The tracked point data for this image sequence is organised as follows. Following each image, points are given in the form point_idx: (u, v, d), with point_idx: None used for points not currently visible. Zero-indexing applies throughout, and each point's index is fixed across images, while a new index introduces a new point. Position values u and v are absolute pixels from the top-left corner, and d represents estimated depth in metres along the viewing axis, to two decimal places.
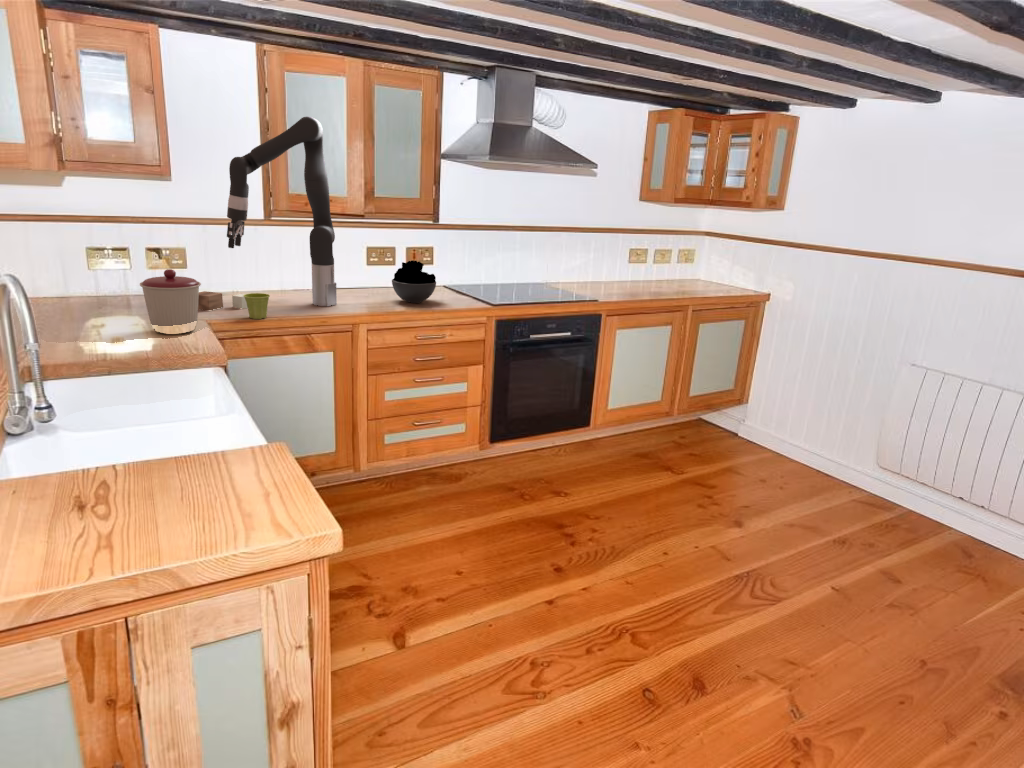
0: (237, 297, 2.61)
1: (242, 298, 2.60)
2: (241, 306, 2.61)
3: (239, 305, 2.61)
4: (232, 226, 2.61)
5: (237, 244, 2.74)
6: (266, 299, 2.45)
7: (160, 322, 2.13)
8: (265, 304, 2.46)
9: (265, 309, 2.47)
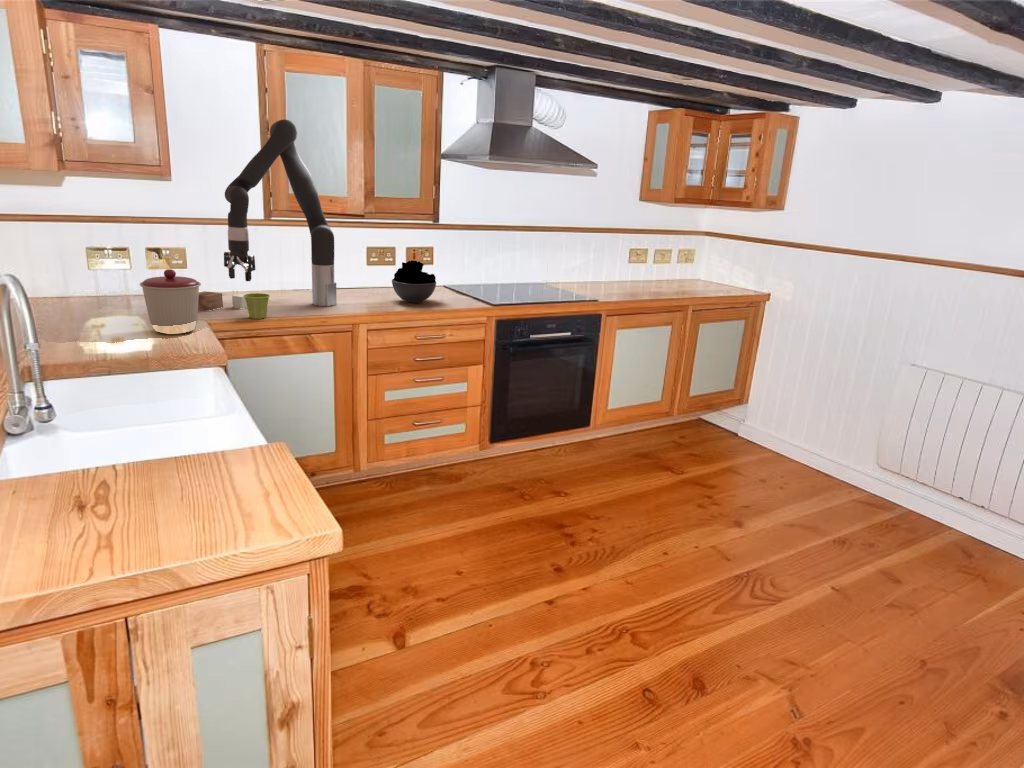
0: (237, 297, 2.61)
1: (242, 298, 2.60)
2: (241, 306, 2.61)
3: (239, 305, 2.61)
4: (253, 258, 2.56)
5: (232, 276, 2.62)
6: (266, 299, 2.45)
7: (160, 322, 2.13)
8: (265, 304, 2.46)
9: (265, 309, 2.47)
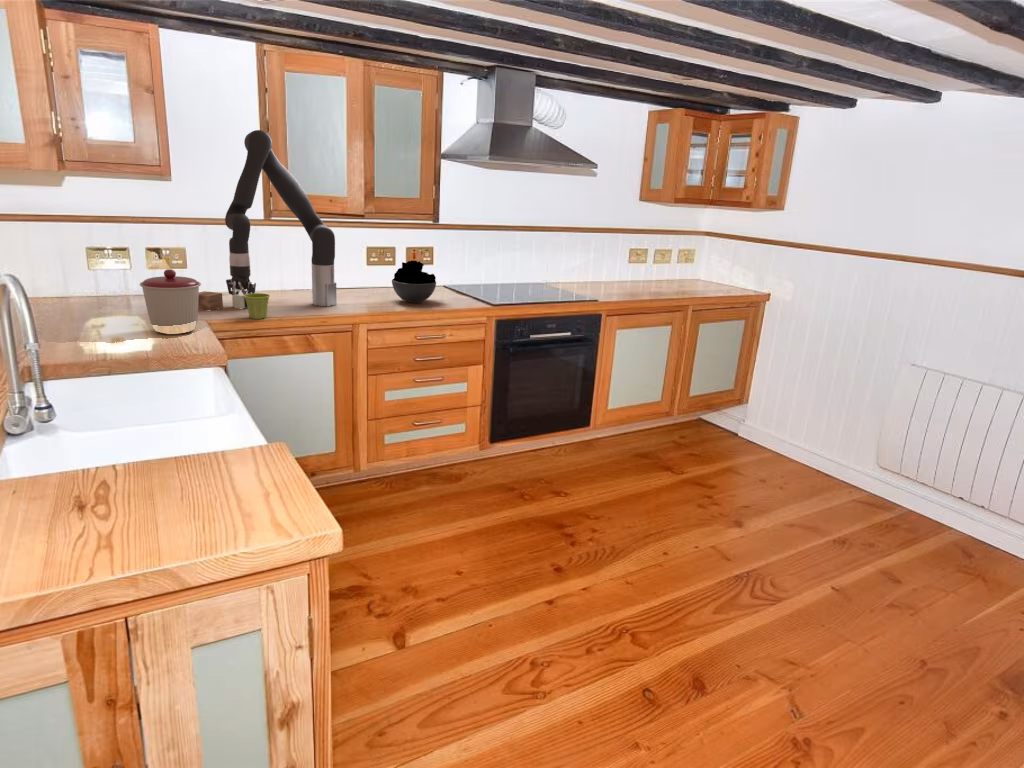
0: (237, 297, 2.60)
1: (242, 298, 2.60)
2: (241, 306, 2.61)
3: (239, 304, 2.61)
4: (254, 286, 2.60)
5: None
6: (266, 299, 2.45)
7: (160, 322, 2.13)
8: (265, 304, 2.46)
9: (265, 309, 2.47)
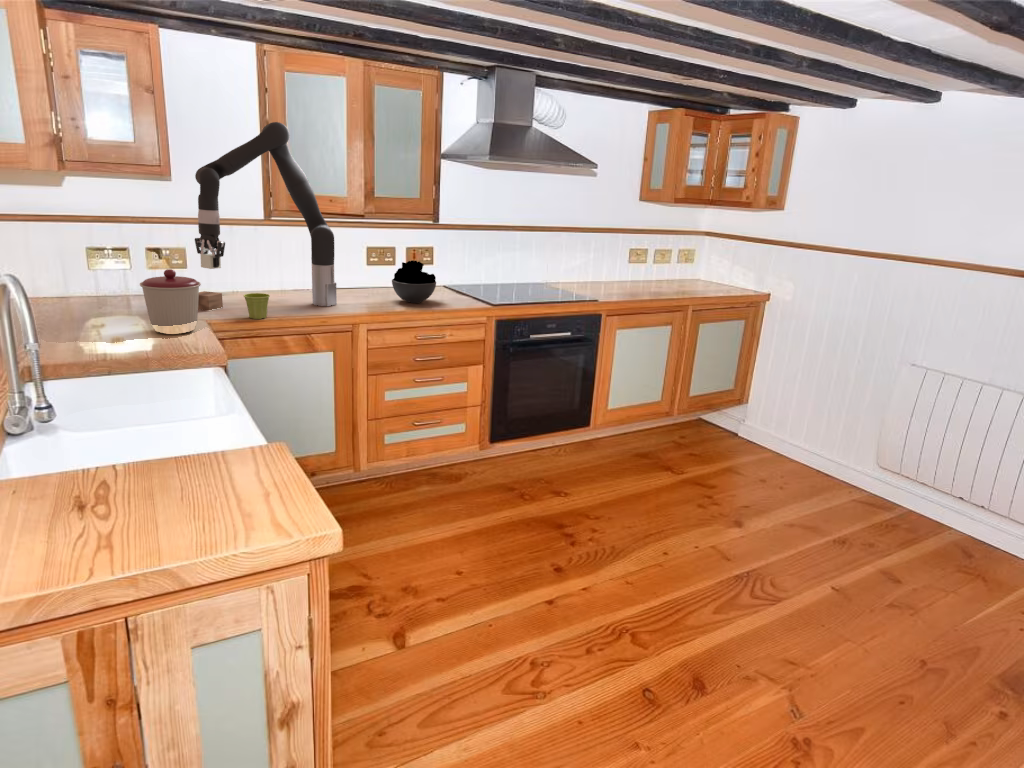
0: (205, 256, 2.51)
1: (210, 257, 2.51)
2: (209, 265, 2.51)
3: (207, 264, 2.52)
4: (223, 245, 2.50)
5: None
6: (266, 299, 2.45)
7: (160, 322, 2.13)
8: (265, 304, 2.46)
9: (265, 309, 2.47)
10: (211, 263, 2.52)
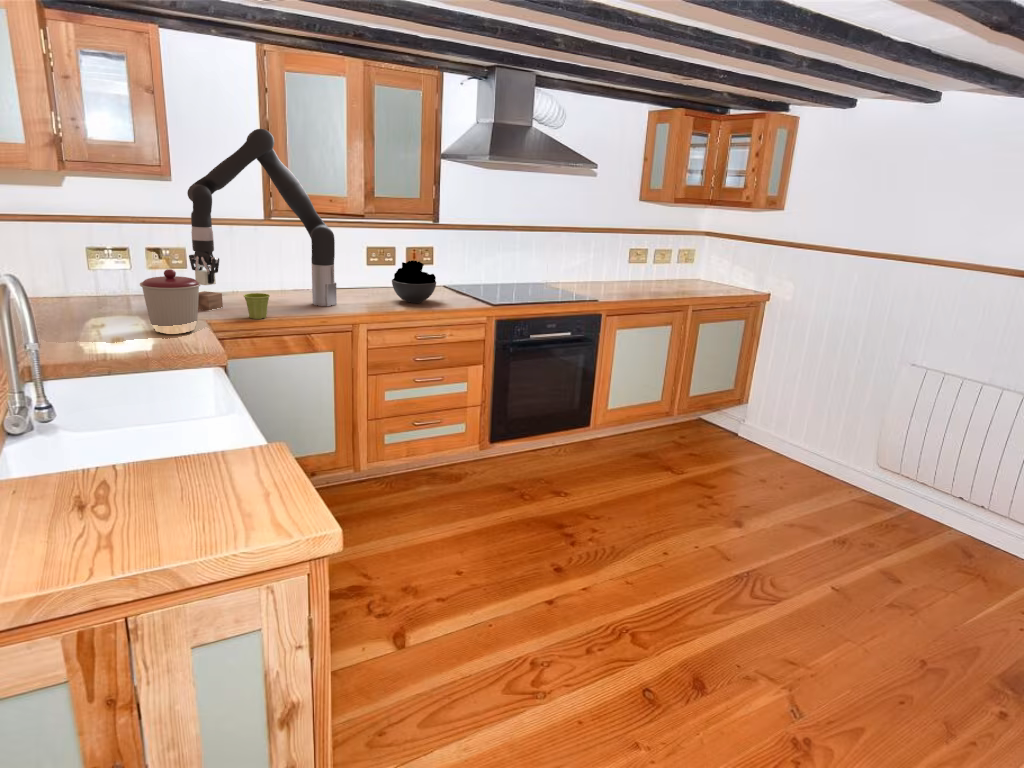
0: (200, 272, 2.52)
1: (205, 274, 2.51)
2: (204, 282, 2.52)
3: (202, 281, 2.52)
4: (218, 261, 2.51)
5: None
6: (266, 299, 2.45)
7: (160, 322, 2.13)
8: (265, 304, 2.46)
9: (265, 309, 2.47)
10: (206, 279, 2.52)
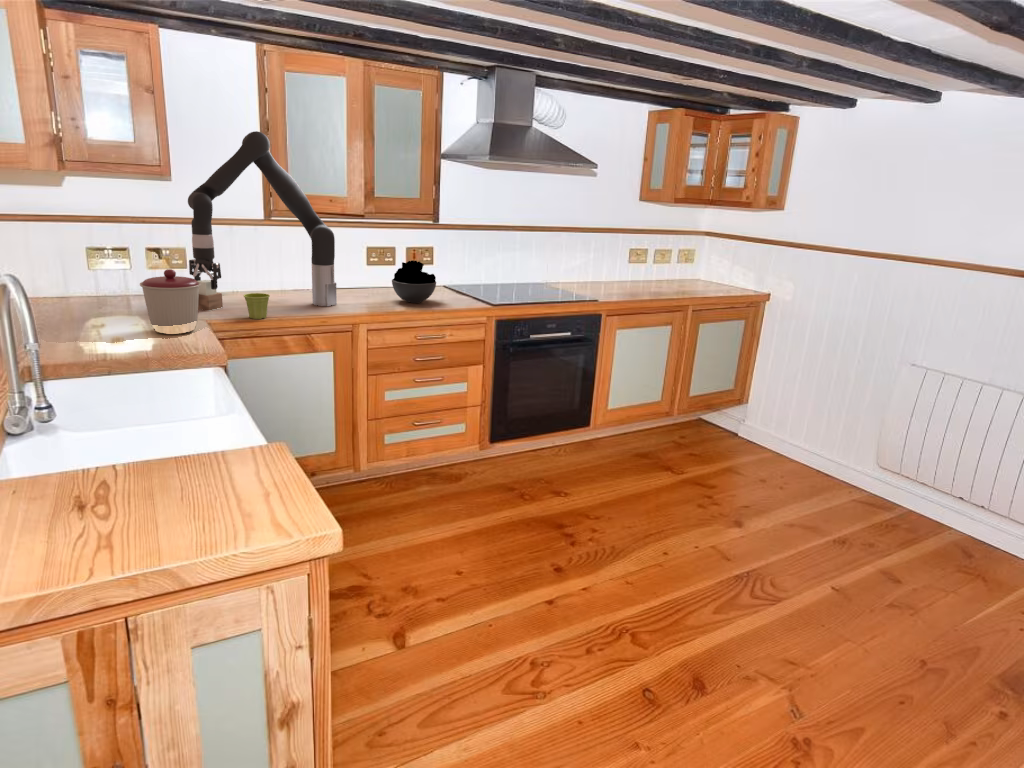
0: (201, 283, 2.53)
1: (206, 284, 2.52)
2: (205, 292, 2.53)
3: (203, 291, 2.53)
4: (218, 266, 2.51)
5: None
6: (266, 299, 2.45)
7: (160, 322, 2.13)
8: (265, 304, 2.46)
9: (265, 309, 2.47)
10: (207, 290, 2.53)
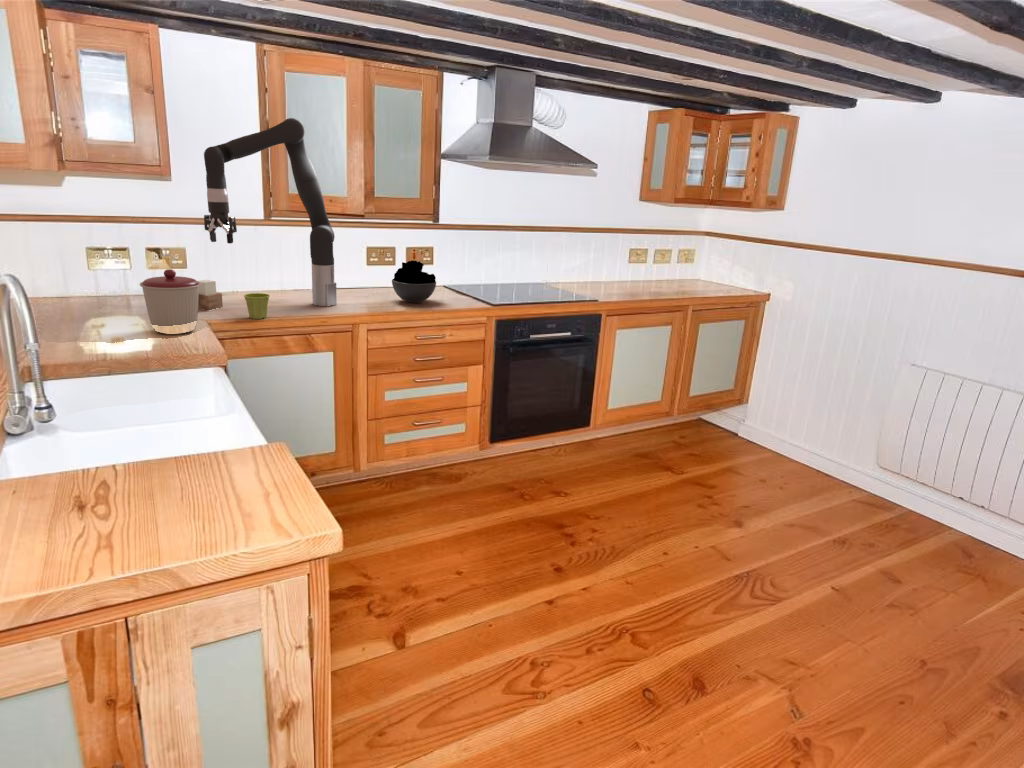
0: None
1: (205, 284, 2.52)
2: (204, 292, 2.53)
3: (203, 291, 2.53)
4: (234, 220, 2.56)
5: (214, 240, 2.61)
6: (266, 299, 2.45)
7: (160, 322, 2.13)
8: (265, 304, 2.46)
9: (265, 309, 2.47)
10: (206, 290, 2.53)
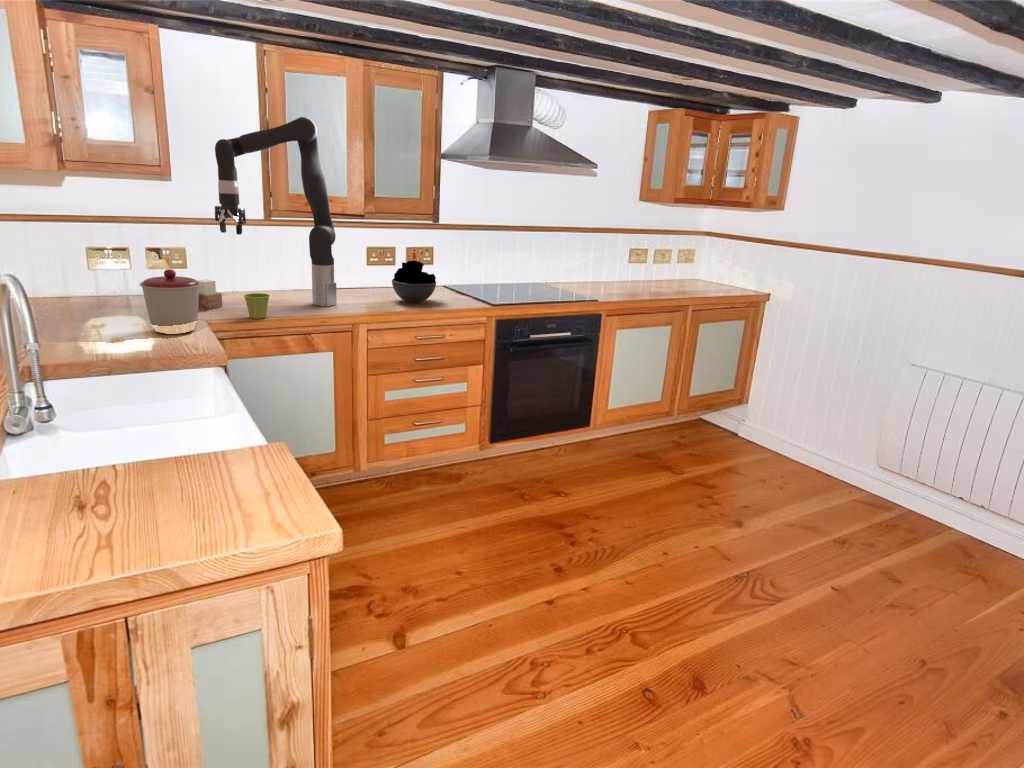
0: (200, 282, 2.53)
1: (205, 283, 2.53)
2: (204, 292, 2.54)
3: (202, 290, 2.54)
4: (243, 211, 2.61)
5: (224, 231, 2.67)
6: (266, 299, 2.45)
7: (160, 322, 2.13)
8: (265, 304, 2.46)
9: (265, 309, 2.47)
10: (206, 289, 2.54)
